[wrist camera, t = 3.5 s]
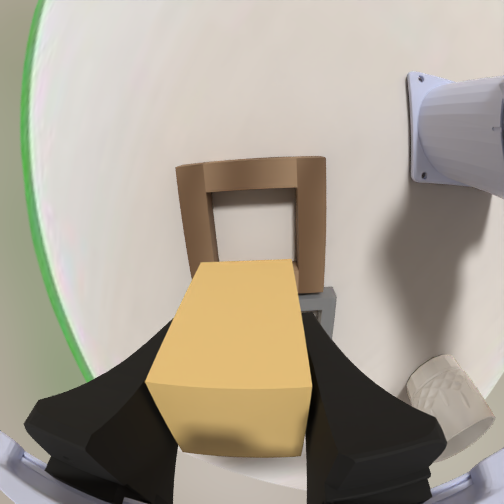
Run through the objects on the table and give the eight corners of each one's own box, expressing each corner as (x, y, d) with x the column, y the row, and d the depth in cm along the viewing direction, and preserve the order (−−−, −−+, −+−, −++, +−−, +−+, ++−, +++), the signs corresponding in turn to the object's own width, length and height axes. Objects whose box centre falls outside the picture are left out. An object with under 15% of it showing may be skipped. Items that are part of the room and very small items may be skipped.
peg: (291, 259, 12) (312, 386, 6) (291, 331, 14) (300, 456, 7) (200, 262, 12) (144, 381, 6) (212, 332, 14) (182, 451, 8)
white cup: (398, 370, 24) (429, 447, 15) (460, 338, 22) (503, 403, 13) (403, 405, 27) (424, 470, 17) (456, 378, 25) (486, 436, 16)
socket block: (320, 156, 17) (325, 157, 15) (319, 281, 20) (323, 292, 19) (182, 164, 17) (175, 167, 16) (199, 285, 21) (194, 296, 20)
